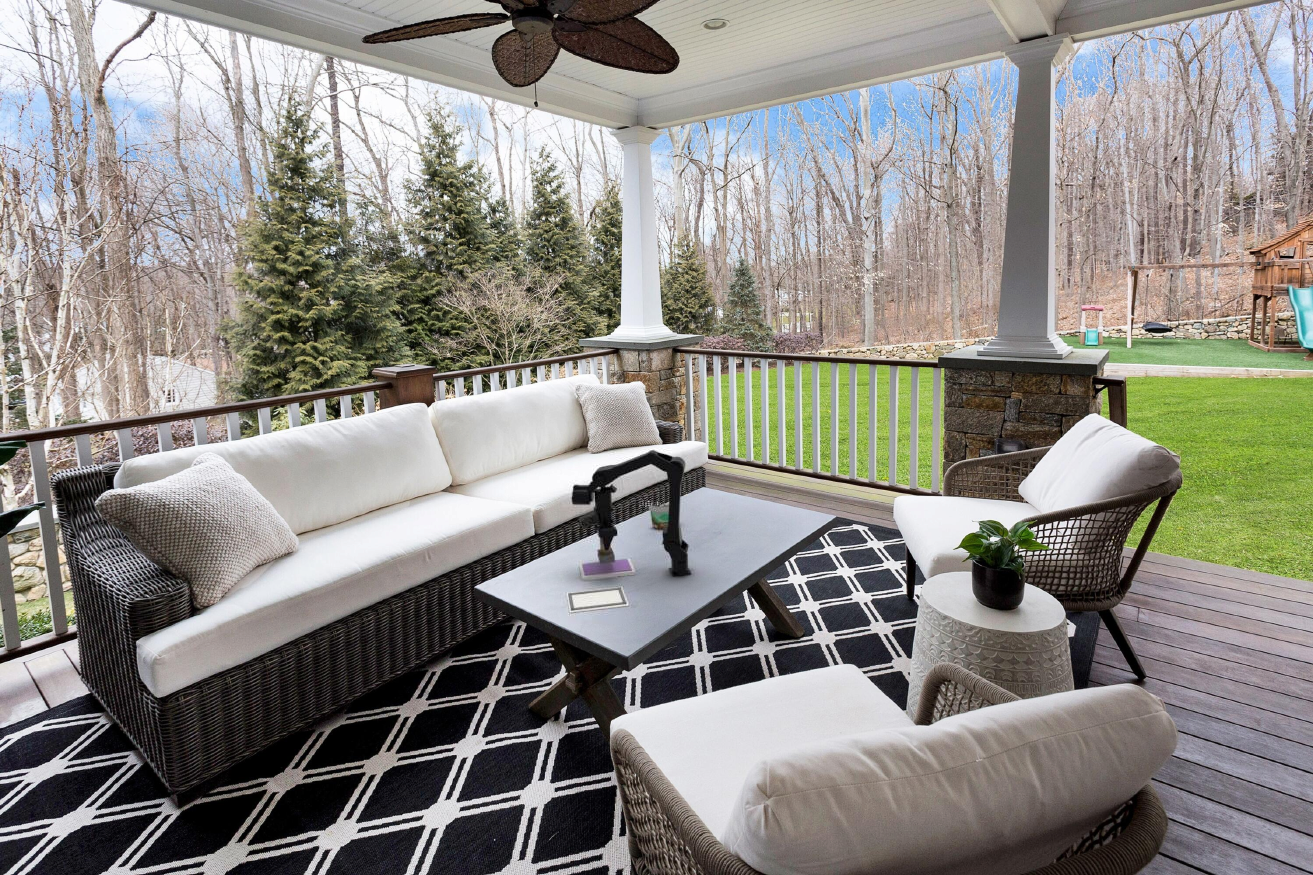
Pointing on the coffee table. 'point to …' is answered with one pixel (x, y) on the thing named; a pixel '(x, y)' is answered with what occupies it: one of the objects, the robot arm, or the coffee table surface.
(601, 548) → the stamp
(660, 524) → the food container
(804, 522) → the coffee table surface
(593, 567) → the ink pad
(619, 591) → the marked board
